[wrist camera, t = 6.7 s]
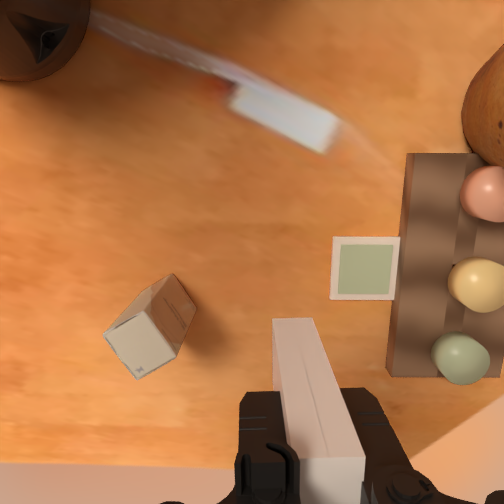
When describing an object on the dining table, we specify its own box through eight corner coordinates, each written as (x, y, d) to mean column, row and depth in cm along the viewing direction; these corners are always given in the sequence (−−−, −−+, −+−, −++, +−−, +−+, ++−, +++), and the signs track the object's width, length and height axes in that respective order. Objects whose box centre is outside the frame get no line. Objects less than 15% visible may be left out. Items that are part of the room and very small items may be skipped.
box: (198, 309, 42) (179, 361, 31) (166, 327, 42) (137, 384, 32) (171, 270, 41) (143, 310, 30) (139, 289, 41) (99, 335, 30)
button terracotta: (451, 165, 36) (479, 166, 32) (500, 165, 36) (536, 166, 32) (444, 214, 37) (471, 222, 33) (492, 215, 37) (525, 222, 33)
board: (406, 153, 38) (415, 153, 36) (525, 154, 38) (540, 153, 36) (385, 367, 44) (391, 377, 42) (488, 367, 44) (499, 377, 42)
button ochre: (439, 250, 38) (464, 262, 34) (486, 250, 38) (518, 263, 34) (434, 295, 39) (457, 312, 35) (479, 295, 39) (509, 312, 35)
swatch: (332, 235, 40) (334, 237, 39) (398, 236, 40) (401, 237, 39) (328, 298, 41) (330, 300, 41) (392, 298, 41) (395, 301, 41)
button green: (424, 322, 42) (445, 342, 37) (467, 322, 42) (493, 342, 37) (419, 361, 43) (439, 384, 38) (461, 361, 43) (486, 385, 38)
